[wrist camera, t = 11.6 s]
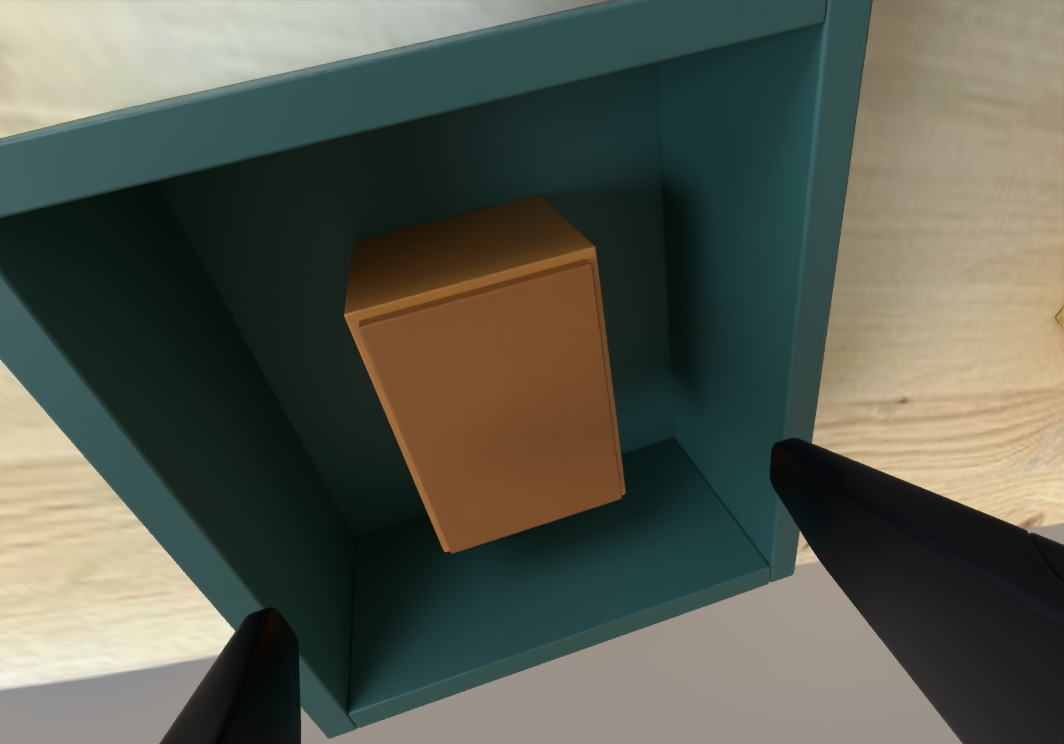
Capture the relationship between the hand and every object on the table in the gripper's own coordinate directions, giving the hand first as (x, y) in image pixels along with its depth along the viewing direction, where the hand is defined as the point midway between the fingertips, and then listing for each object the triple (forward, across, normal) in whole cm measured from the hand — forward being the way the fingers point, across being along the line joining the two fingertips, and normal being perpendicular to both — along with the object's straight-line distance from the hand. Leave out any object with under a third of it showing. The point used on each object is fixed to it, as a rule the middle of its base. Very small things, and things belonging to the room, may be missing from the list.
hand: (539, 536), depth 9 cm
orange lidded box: (+8, 0, 0) cm, 8 cm away
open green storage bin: (+9, 0, 0) cm, 9 cm away
